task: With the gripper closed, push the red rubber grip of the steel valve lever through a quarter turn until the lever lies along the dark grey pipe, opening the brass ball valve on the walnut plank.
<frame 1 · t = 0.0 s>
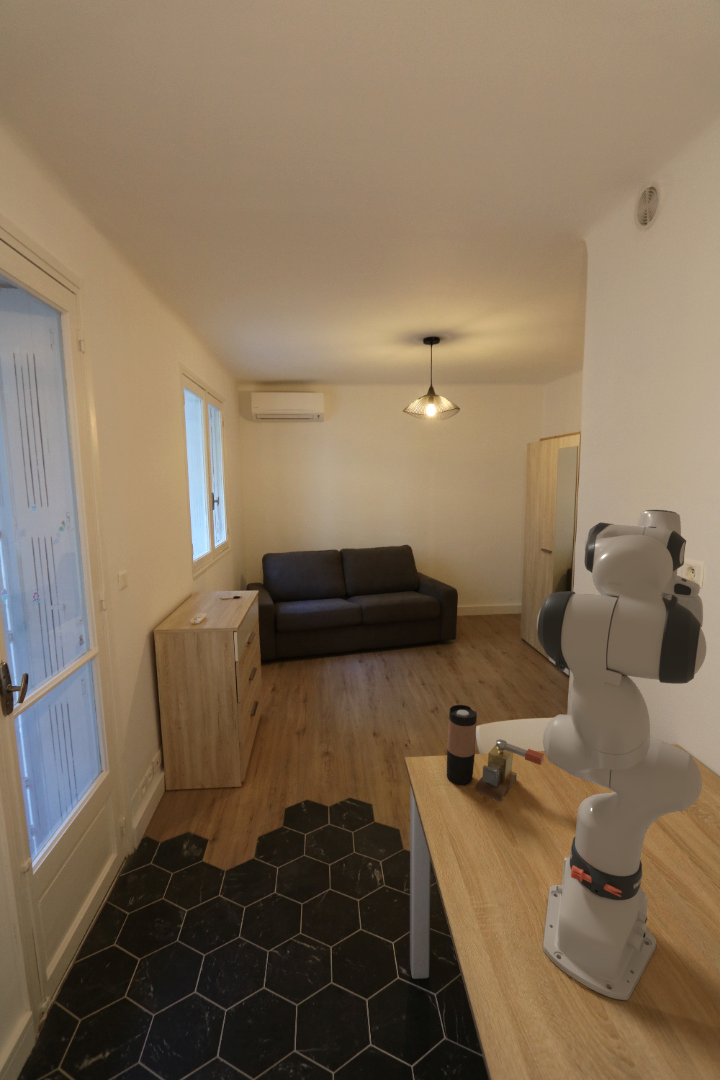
hand: (646, 639, 111), 48 cm above the table, tool pointing down, fingers open, 8 cm apart
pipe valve: (497, 765, 131), on the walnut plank, point 6 cm above the table
travel mug: (459, 778, 135), on the table
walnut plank: (496, 785, 132), on the table
valve lever: (518, 751, 129), point 11 cm above the table, hinge at 0.0°
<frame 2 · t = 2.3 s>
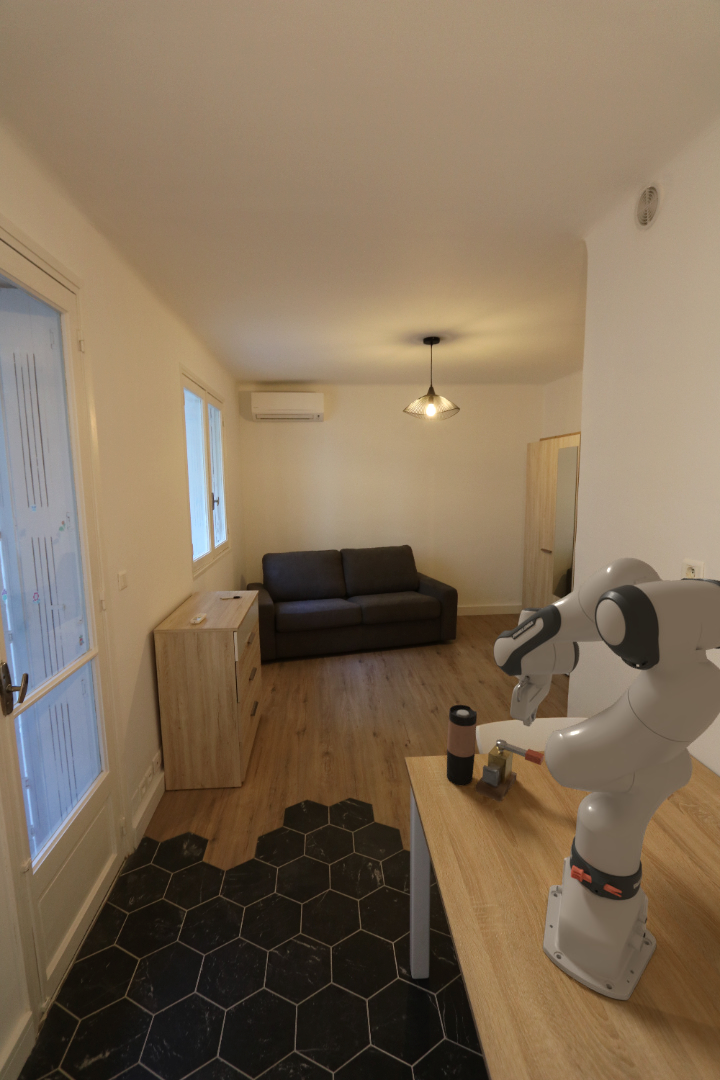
hand: (529, 722, 121), 23 cm above the table, tool pointing down, fingers closed
nothing on the table moved.
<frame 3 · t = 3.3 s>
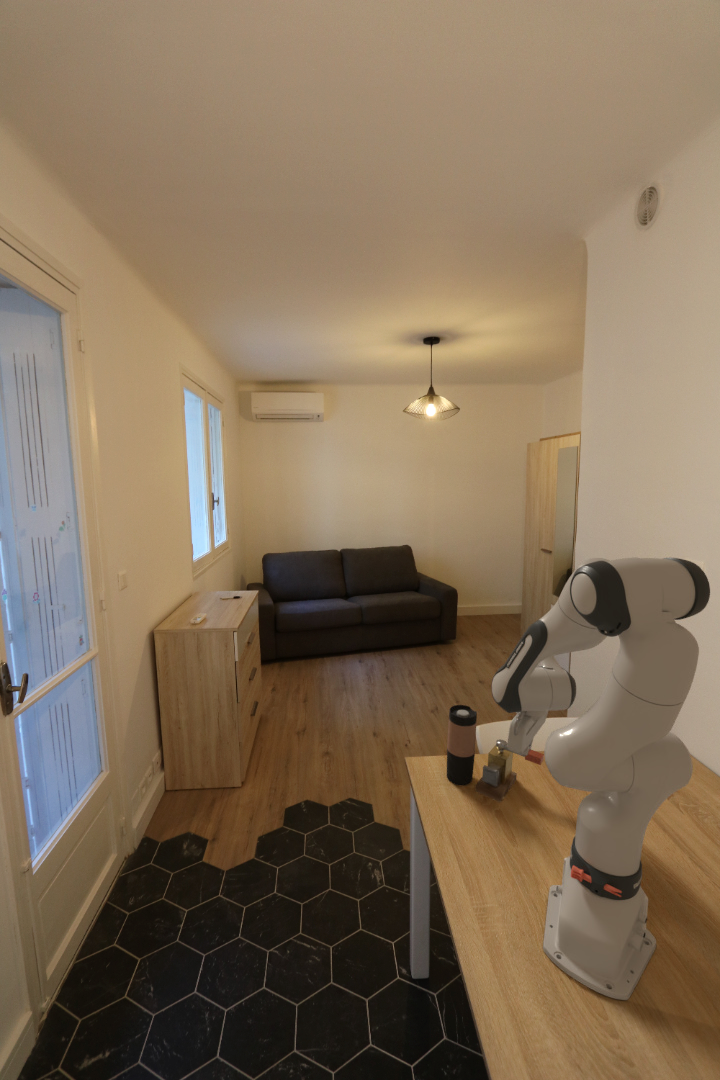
hand: (525, 752, 123), 15 cm above the table, tool pointing down, fingers closed
nothing on the table moved.
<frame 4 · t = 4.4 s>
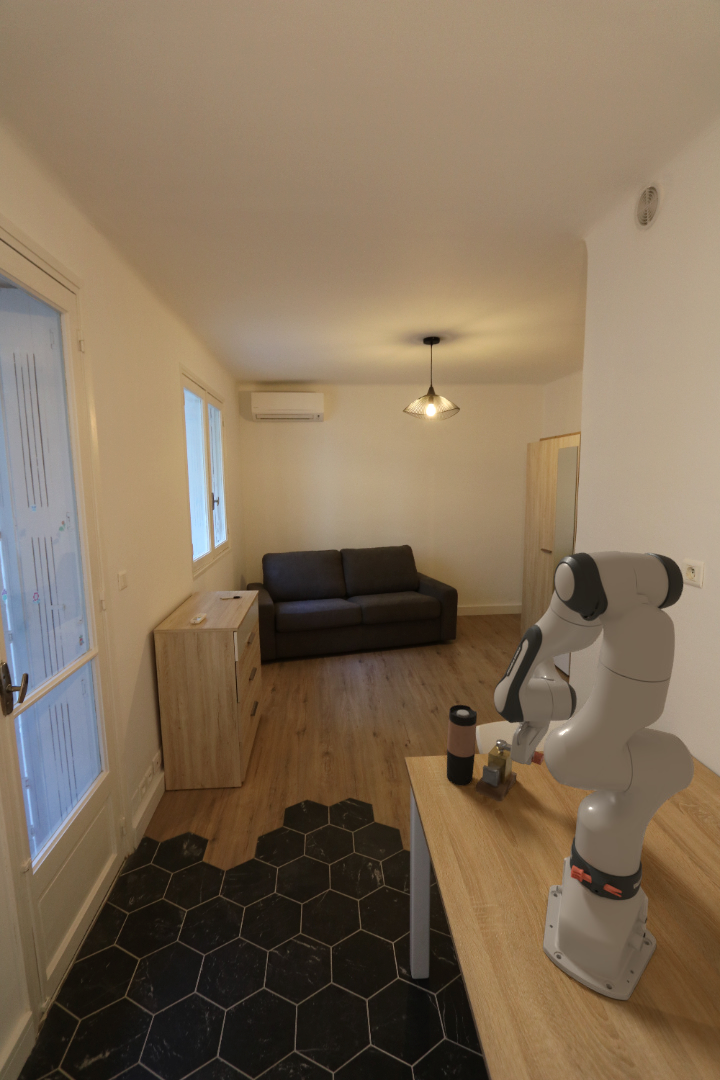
hand: (528, 762, 125), 11 cm above the table, tool pointing down, fingers closed
valve lever: (518, 751, 129), point 11 cm above the table, hinge at 0.0°, touching gripper
everything else where it was.
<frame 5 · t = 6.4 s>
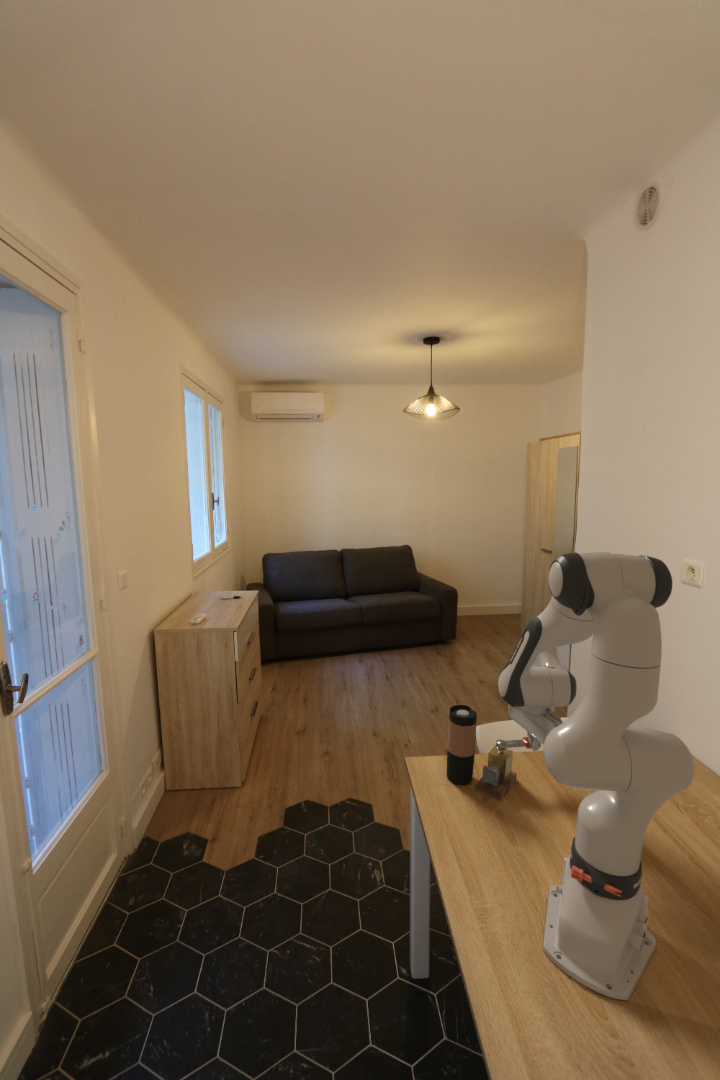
hand: (533, 749, 132), 11 cm above the table, tool pointing down, fingers closed
valve lever: (517, 743, 133), point 11 cm above the table, hinge at 46.4°, touching gripper
everything else where it was.
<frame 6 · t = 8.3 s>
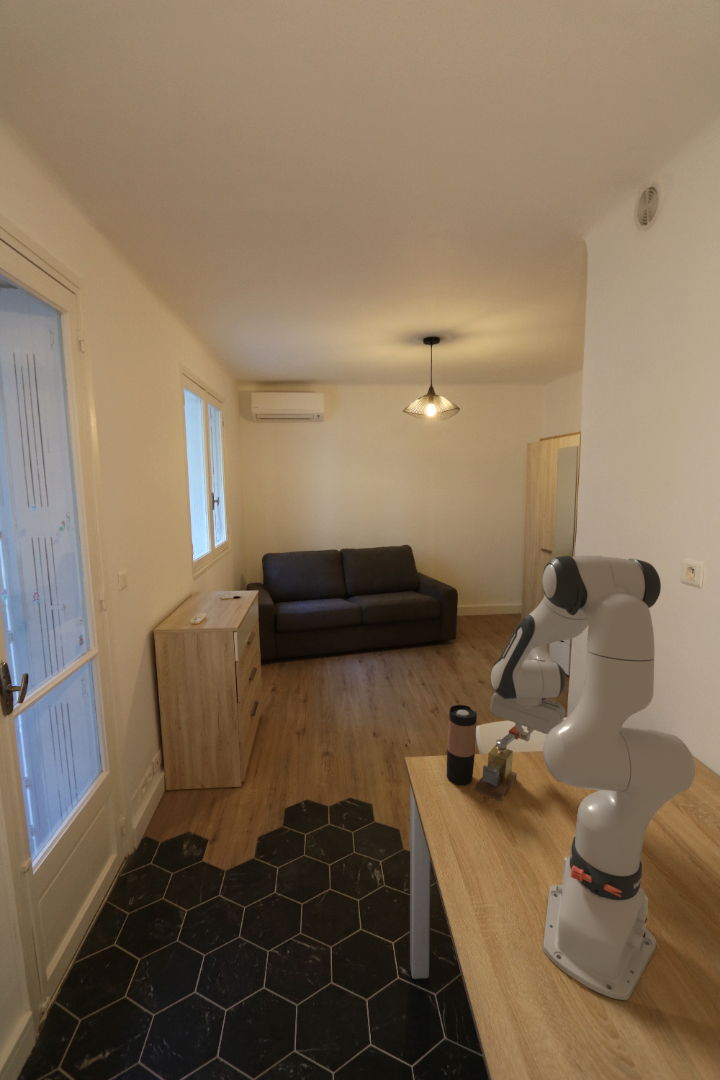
hand: (524, 739, 137), 10 cm above the table, tool pointing down, fingers closed
valve lever: (509, 738, 136), point 11 cm above the table, hinge at 83.5°, touching gripper
everything else where it was.
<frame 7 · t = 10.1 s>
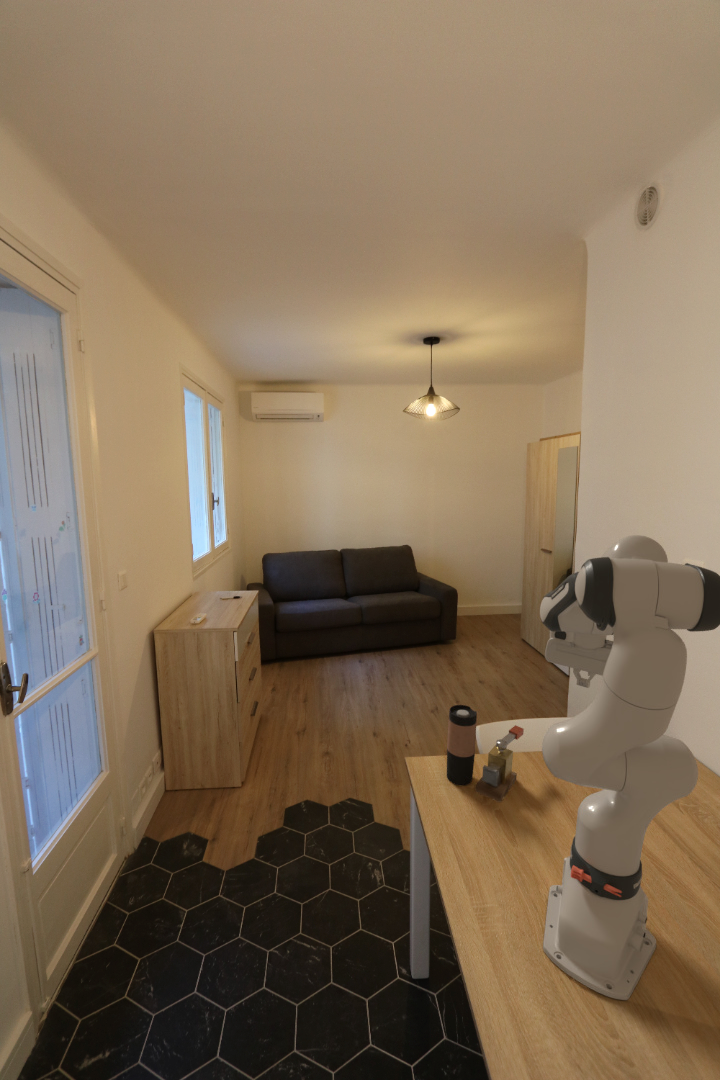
hand: (583, 685, 128), 30 cm above the table, tool pointing down, fingers closed
valve lever: (509, 737, 136), point 11 cm above the table, hinge at 83.6°
everything else where it was.
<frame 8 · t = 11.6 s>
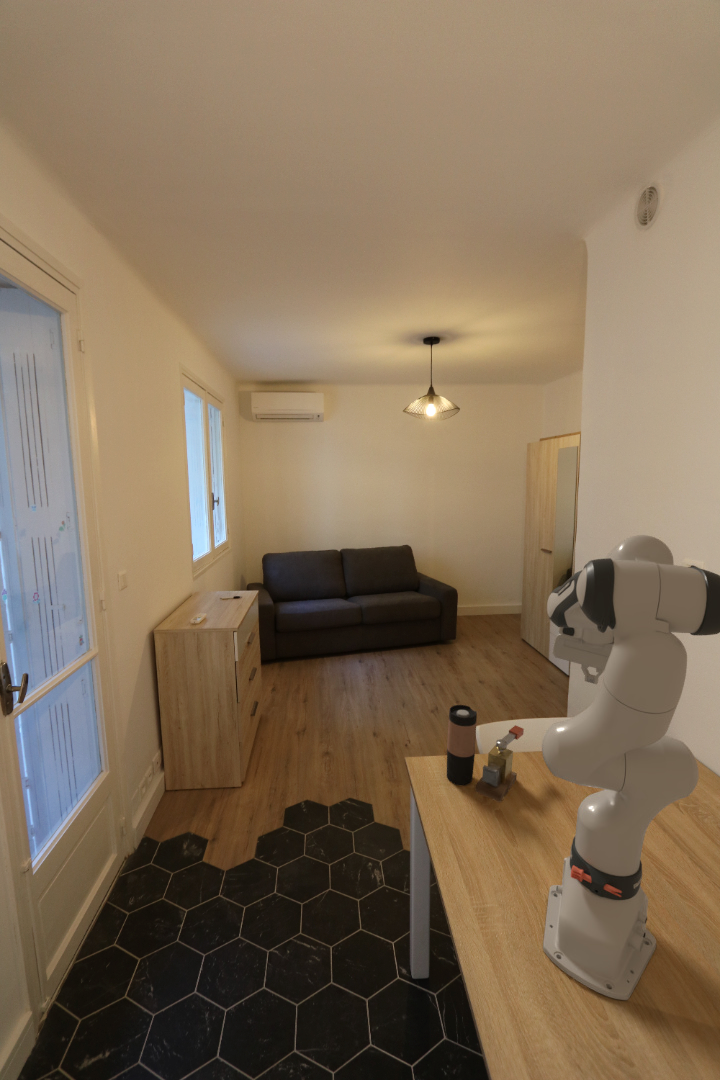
hand: (591, 682, 127), 31 cm above the table, tool pointing down, fingers closed
nothing on the table moved.
at the end: valve lever at +84° (first picture: +0°); travel mug moved 0.2 cm from its start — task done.
